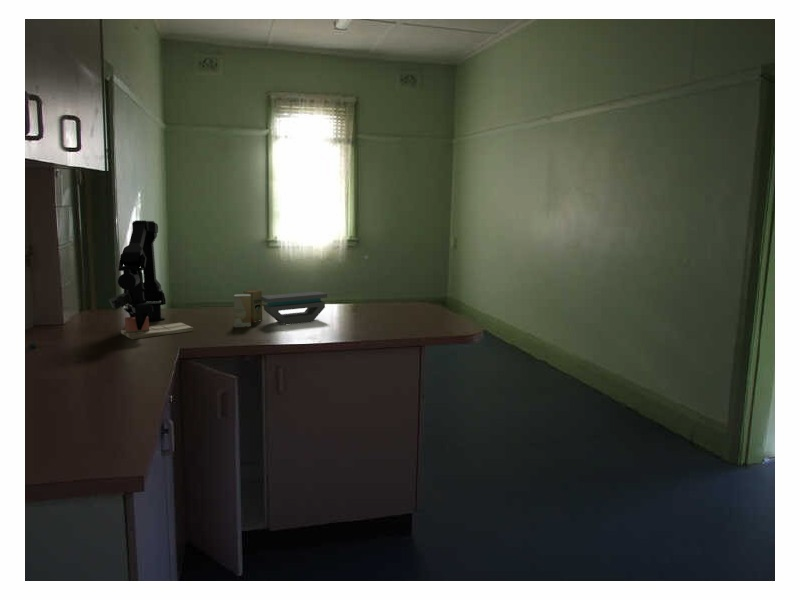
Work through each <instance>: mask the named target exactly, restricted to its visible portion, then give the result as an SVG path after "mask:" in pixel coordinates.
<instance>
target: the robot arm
mask: <svg viewBox="0 0 800 600" xmlns="http://www.w3.org/2000/svg"><path fill="white" fill-rule="evenodd" d="M131 224H132V225H131V227H132V229H131V235H130V239H129V242H128V245H126V246H124V248H123V249H122V252H121V253H120V255H119V261H118V263H119V264H118V271H119V272H123V273H122V274H120V276H119V277H118V279H117V284H118V286H119V287H120V288H121V289H122V290H123V293H120V294H118V295H115V296H113V297H111V298H109V299H108V302H109V304H110V306H111V308H112V309H114V310H118V309H120V308H122V309H123V310H124V311H125V312H126V313H128V316H129V317H135V320H136V325H137V329H138V330H141V329H142V327H143V324H144V322H145V319H146V317H149V322H153V321H162V320H165V317H162V316H163V315H162V306H164V305H167V299H166V295H165V293H164V290H163V289H162V284H161V283H160V282H159V281H158V280H157V274H156V273H157V271H156V260H155V248H154V243H155V241H156V239H157V237H158V233H159V225H158V223H157V222H155V221H154V220H142V219H141V220H133V221H132V223H131ZM124 307H125V308H124Z"/></svg>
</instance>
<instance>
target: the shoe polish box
mask: <svg viewBox="0 0 800 600" xmlns="http://www.w3.org/2000/svg"><path fill="white" fill-rule="evenodd" d="M243 294H250V295H251V321H252V322H251V323H256V322H255V321H258V322H260V321H259V320H262V321H263V301H262V300H261V296H263V295H262V290H256V289H255V290H254V289H250V290H244V291H243Z"/></svg>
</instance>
